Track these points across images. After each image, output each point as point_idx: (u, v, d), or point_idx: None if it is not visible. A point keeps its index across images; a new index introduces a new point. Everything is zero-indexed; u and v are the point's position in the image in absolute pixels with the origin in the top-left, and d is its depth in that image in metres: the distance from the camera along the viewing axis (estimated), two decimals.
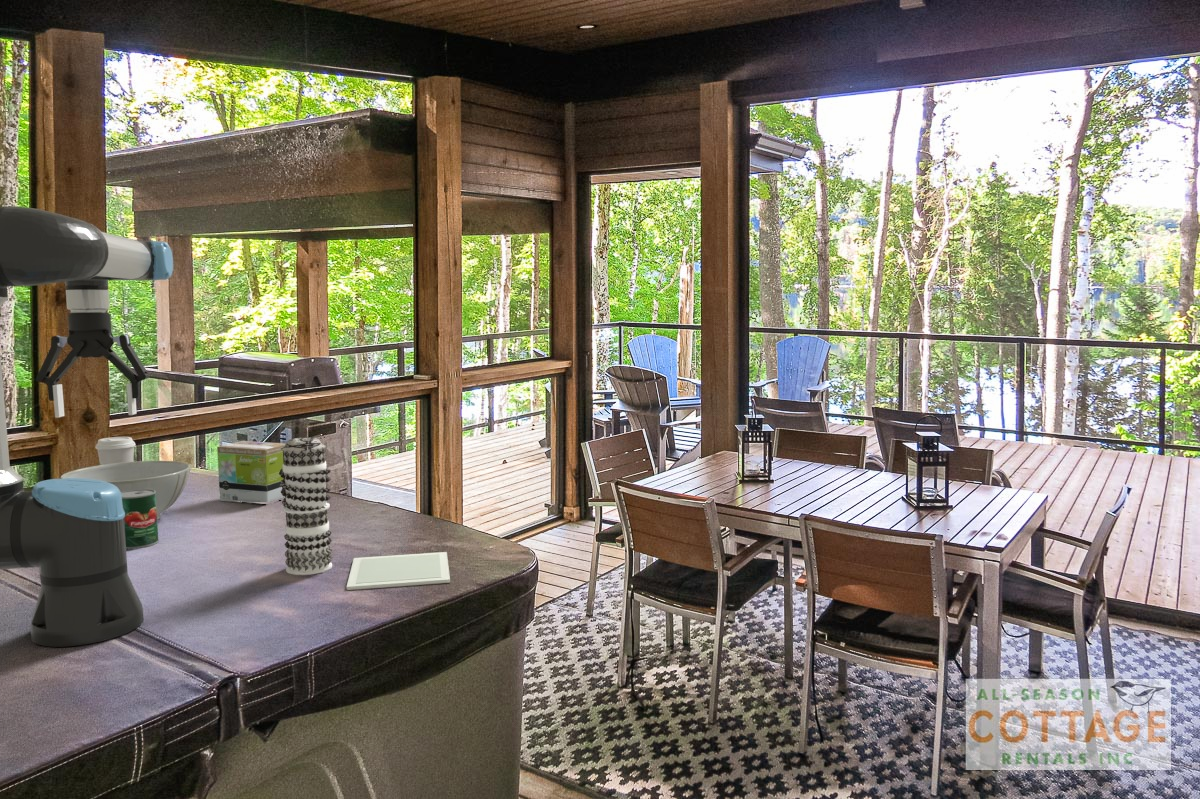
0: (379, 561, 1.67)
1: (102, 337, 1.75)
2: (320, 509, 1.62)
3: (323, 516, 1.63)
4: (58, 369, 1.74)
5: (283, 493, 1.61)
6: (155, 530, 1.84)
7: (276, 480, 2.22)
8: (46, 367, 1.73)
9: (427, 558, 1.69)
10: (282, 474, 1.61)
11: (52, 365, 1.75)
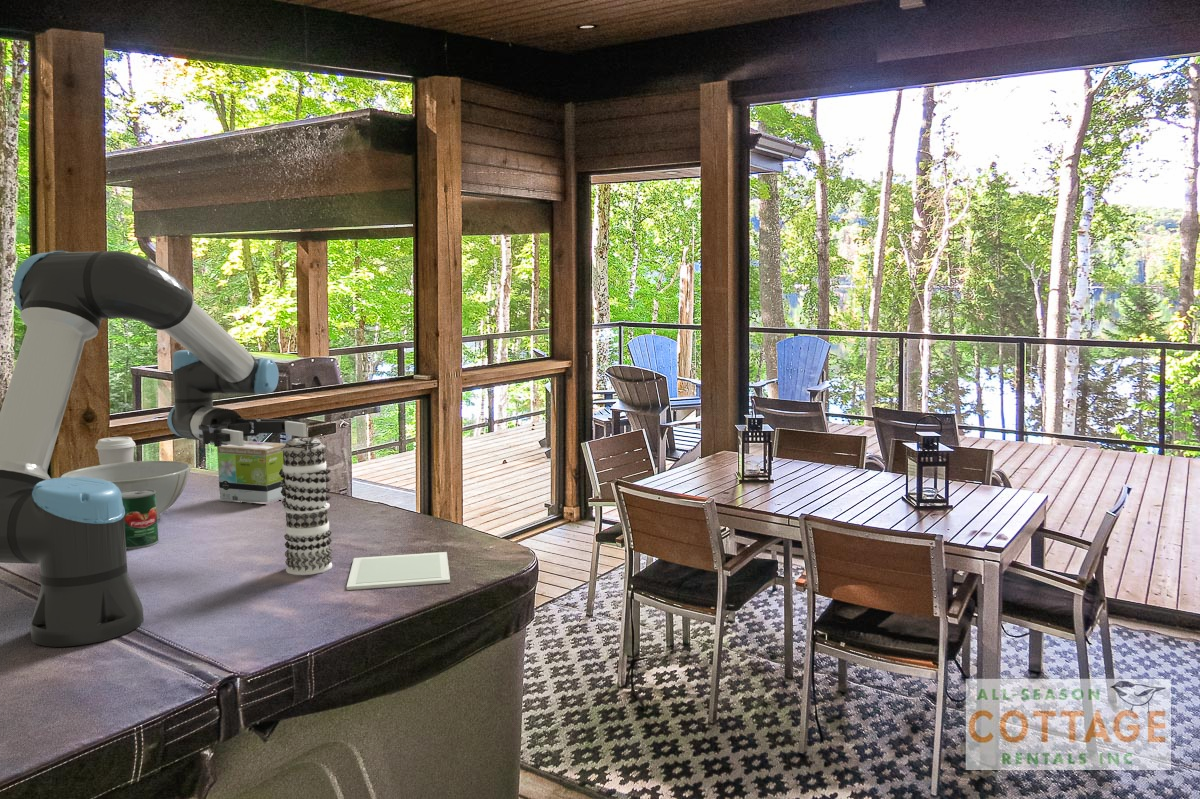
0: (379, 561, 1.67)
1: None
2: (320, 509, 1.62)
3: (323, 516, 1.63)
4: (218, 427, 1.70)
5: (283, 493, 1.61)
6: (155, 530, 1.84)
7: (276, 480, 2.22)
8: (207, 428, 1.69)
9: (427, 558, 1.69)
10: (282, 474, 1.61)
11: None
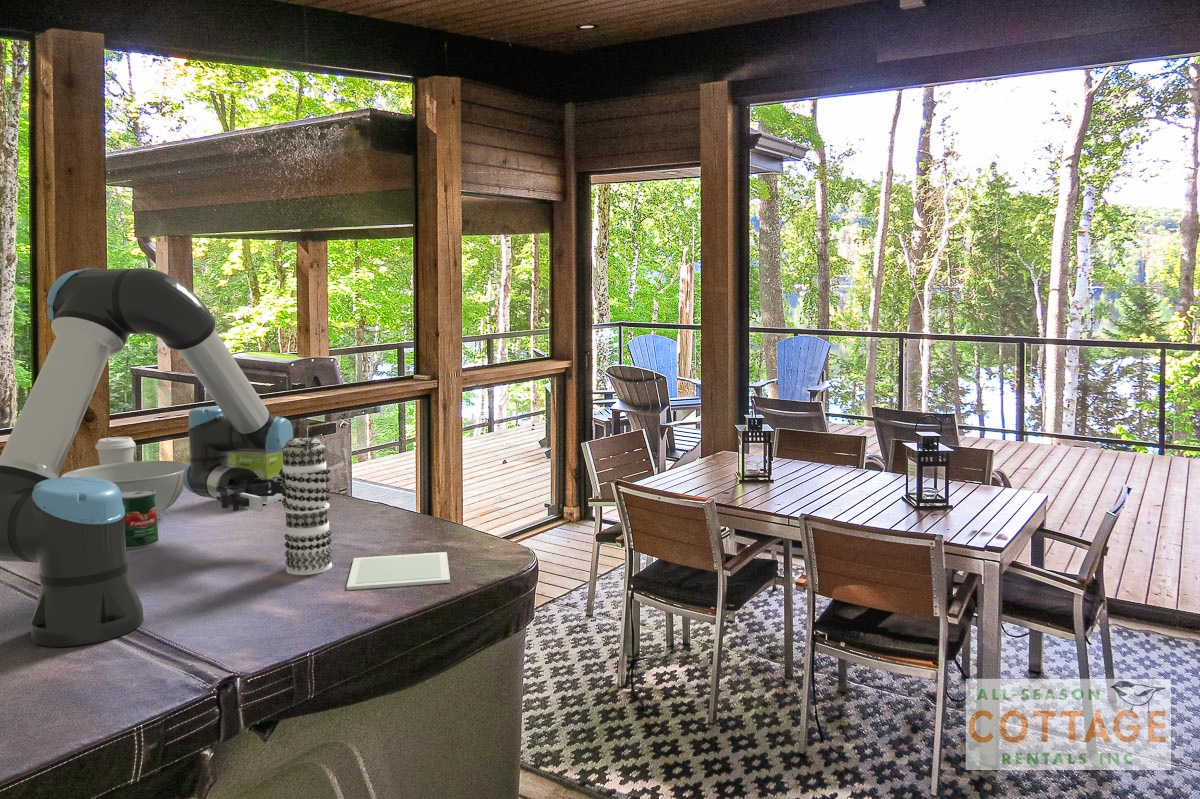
0: (379, 561, 1.67)
1: None
2: (320, 509, 1.62)
3: (323, 516, 1.63)
4: (237, 491, 1.69)
5: (283, 493, 1.61)
6: (155, 530, 1.84)
7: None
8: (225, 492, 1.68)
9: (427, 558, 1.69)
10: (282, 474, 1.61)
11: None
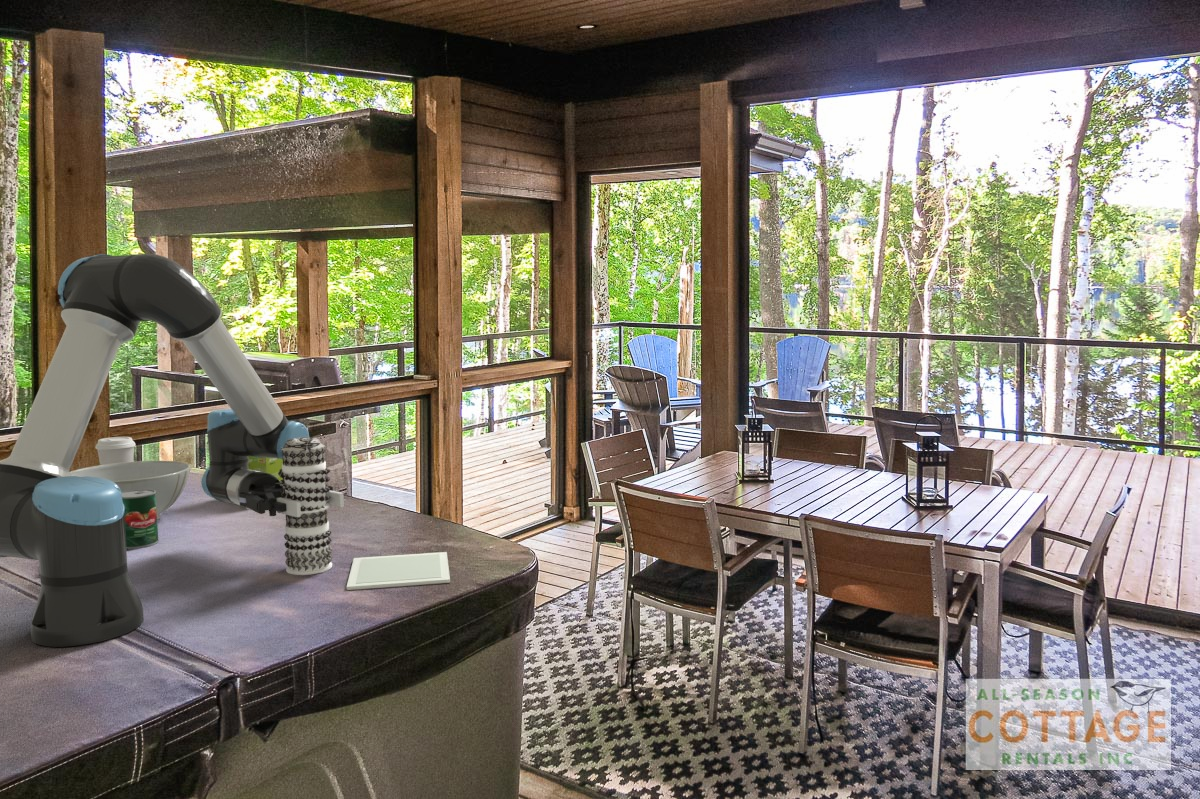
0: (379, 561, 1.67)
1: None
2: (320, 509, 1.62)
3: (323, 516, 1.63)
4: (268, 495, 1.64)
5: (283, 493, 1.61)
6: (155, 530, 1.84)
7: None
8: (257, 497, 1.62)
9: (427, 558, 1.69)
10: (281, 474, 1.60)
11: None
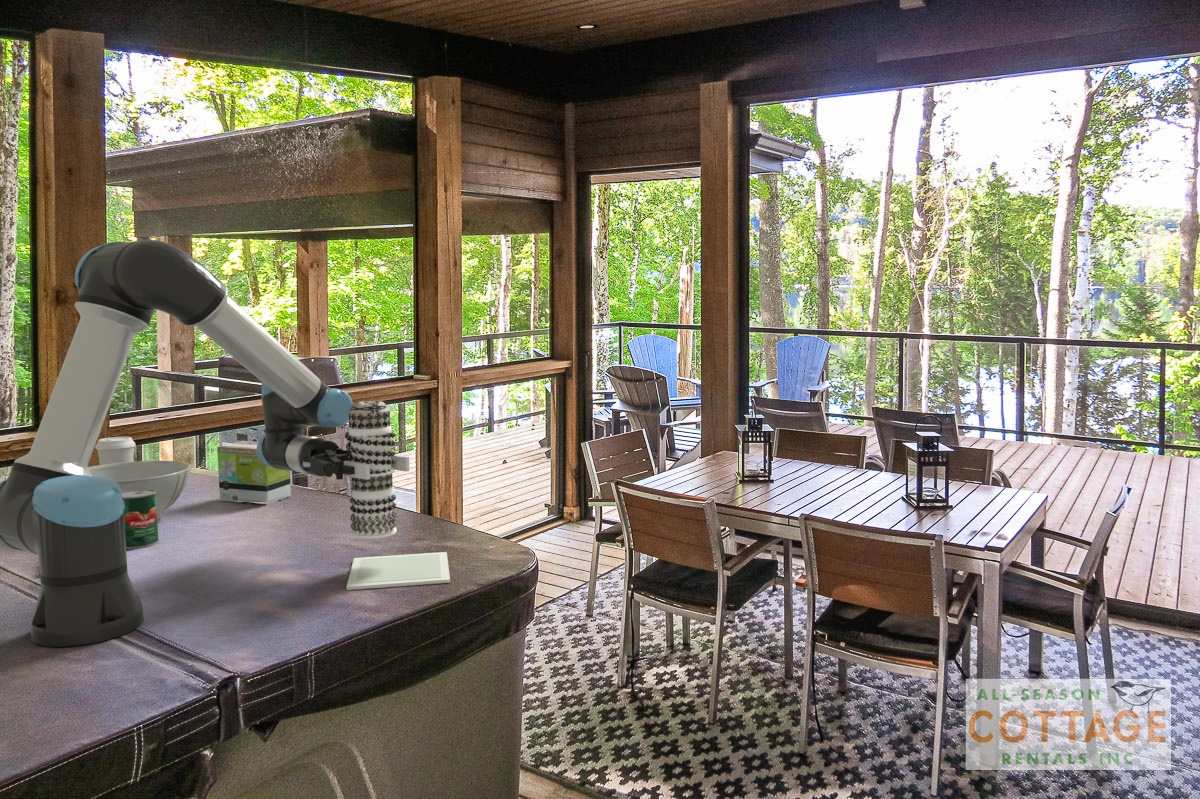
0: (379, 561, 1.67)
1: None
2: (387, 472, 1.61)
3: (389, 480, 1.62)
4: (334, 459, 1.63)
5: (349, 456, 1.60)
6: (155, 530, 1.84)
7: (276, 480, 2.22)
8: (323, 461, 1.61)
9: (427, 558, 1.69)
10: (349, 437, 1.59)
11: None
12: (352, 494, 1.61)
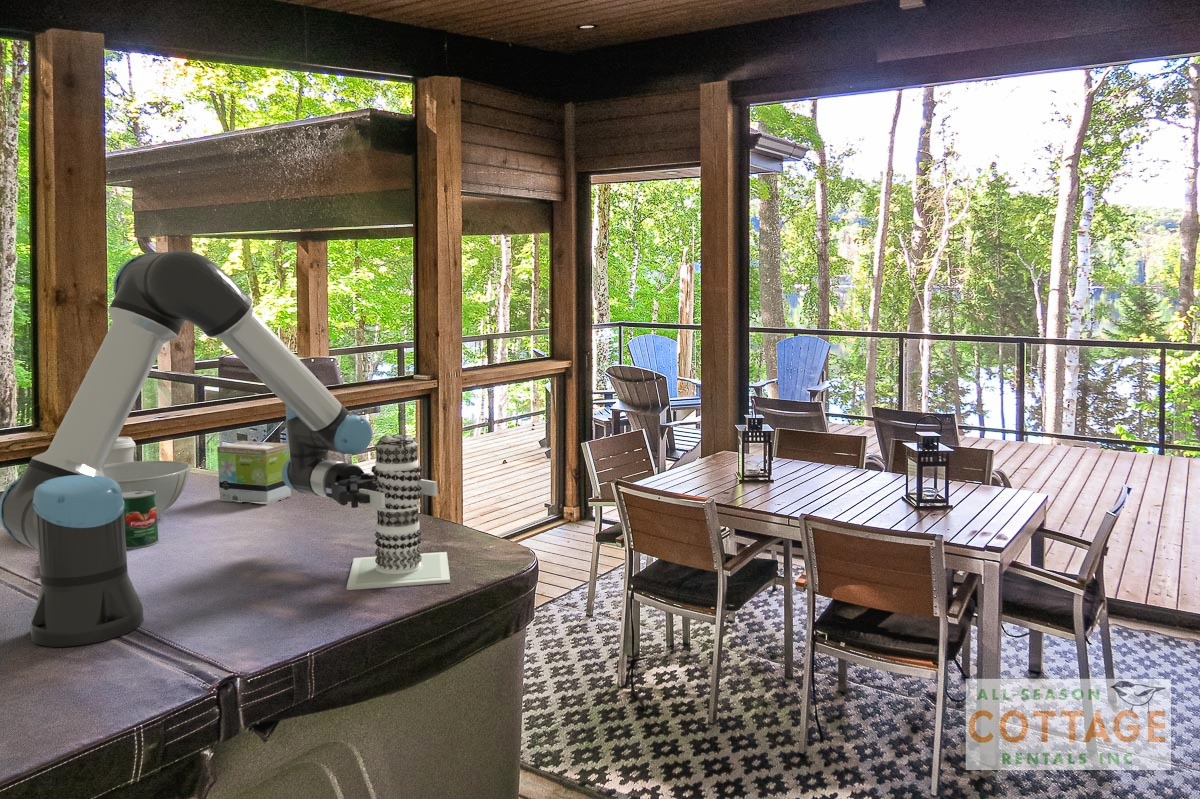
0: None
1: None
2: (413, 508, 1.59)
3: (415, 515, 1.61)
4: (352, 486, 1.61)
5: None
6: (155, 530, 1.84)
7: (276, 480, 2.22)
8: (341, 488, 1.59)
9: (427, 558, 1.69)
10: (375, 471, 1.58)
11: None
12: (377, 528, 1.60)
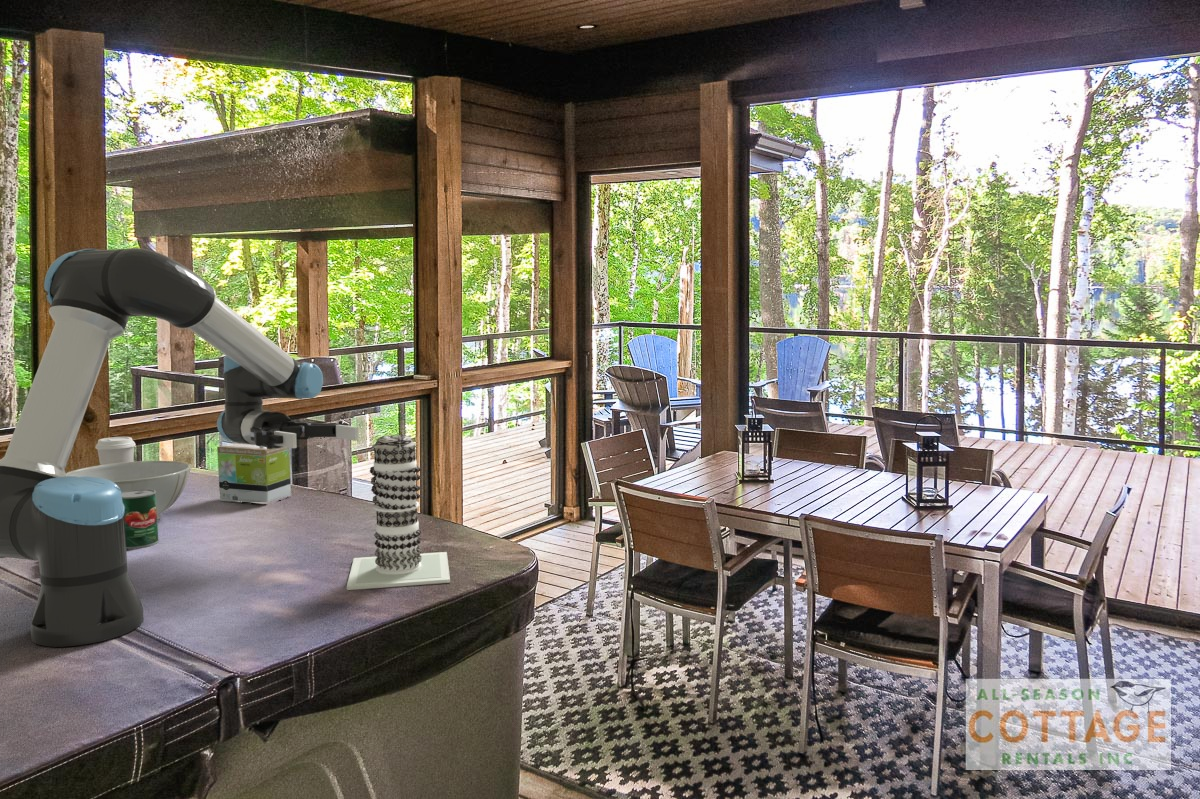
0: None
1: None
2: (411, 508, 1.59)
3: (414, 515, 1.61)
4: (271, 430, 1.69)
5: (374, 491, 1.59)
6: (155, 530, 1.84)
7: (276, 480, 2.22)
8: (259, 431, 1.67)
9: (427, 558, 1.69)
10: (374, 472, 1.58)
11: None
12: (377, 529, 1.60)
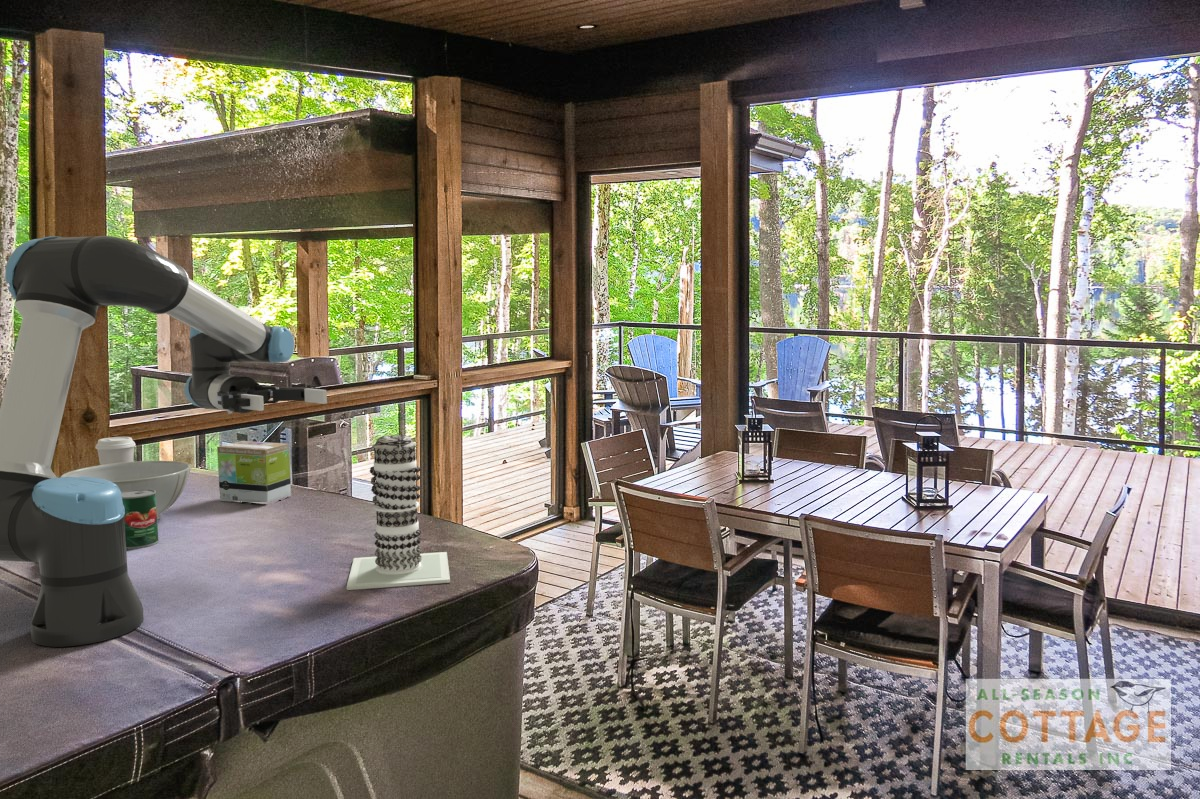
0: None
1: None
2: (411, 508, 1.59)
3: (414, 515, 1.61)
4: (238, 393, 1.67)
5: (374, 491, 1.59)
6: (155, 530, 1.84)
7: (276, 480, 2.22)
8: (226, 394, 1.66)
9: (427, 558, 1.69)
10: (374, 472, 1.58)
11: None
12: (377, 529, 1.60)
